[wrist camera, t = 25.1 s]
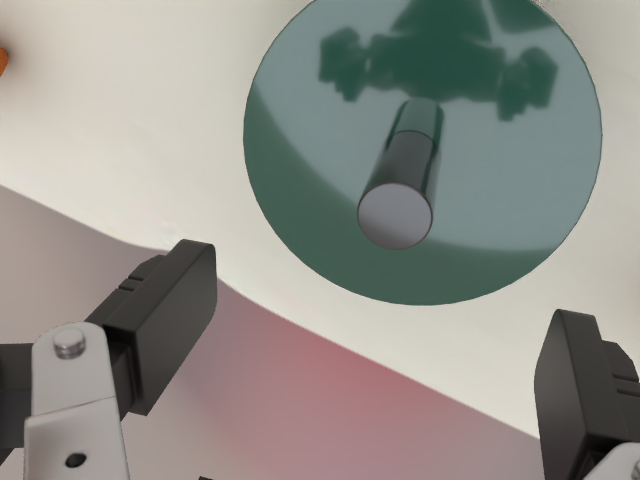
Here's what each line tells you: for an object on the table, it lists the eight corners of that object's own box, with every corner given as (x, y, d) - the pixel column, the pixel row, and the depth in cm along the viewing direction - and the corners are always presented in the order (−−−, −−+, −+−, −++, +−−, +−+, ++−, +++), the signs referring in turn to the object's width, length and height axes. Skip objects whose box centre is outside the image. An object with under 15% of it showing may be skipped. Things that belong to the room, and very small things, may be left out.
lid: (332, -111, 19) (280, -125, 14) (684, 78, 19) (762, 134, 14) (211, 204, 26) (146, 273, 21) (468, 339, 26) (467, 440, 21)
